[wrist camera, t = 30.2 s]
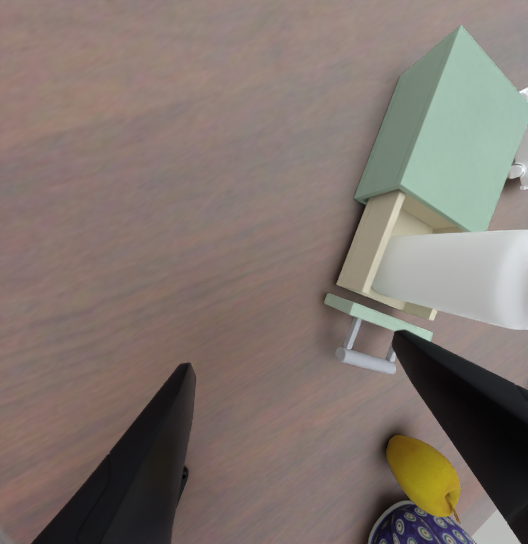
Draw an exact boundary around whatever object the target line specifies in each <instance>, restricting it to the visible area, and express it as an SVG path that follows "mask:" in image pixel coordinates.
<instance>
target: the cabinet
mask: <svg viewBox="0 0 528 544" xmlns="http://www.w3.org/2000/svg"><path fill="white" fill-rule="evenodd" d="M527 123H528V102H527V101H526V100H525V98H524V97H523V96H522V95H521V94H520V93H519V91H518V90H517V89H516V88H515V87H514V86H513V85H512V83H511V82H510V81H509V80H508V79H507V78H506V76H505V75H504V74H503V73H502V72H501V71H500V69H499V68H498V67H497V66H496V65H495V64H494V62H493V61H492V60H491V59H490V58H489V57H488V56H487V54H486V53H485V52H484V51H483V50H482V49H481V47H480V46H479V45H478V44H477V43H476V42H475V40H474V39H473V38H472V37H471V36H470V35H469V33H468V32H467V31H466V30H465V29H464V28H463V26H462V25H460V26H459V27H458V28H456V29H455V30H454V31H453V32H452V33H451V34H449V35H448V36H447V37H446V38H445V39H443V40H442V41H441V42H440V43H439V44H438V45H436V46H435V47H434V48H433V49H432V50H431V51H429V52H428V53H427V54H426V55H425V56H423V57H422V58H421V59H420V60H419V61H418V62H416V63H415V64H414V65H413V66H412V67H410V68H409V69H408V70H407V71H406V72H405V73H403V74H402V75H401V76H400V78H399V80H398V83H397V85H396V88H395V91H394V93H393V96H392V99H391V101H390V104H389V107H388V109H387V112H386V114H385V117H384V120H383V122H382V125H381V128H380V130H379V133H378V136H377V138H376V141H375V143H374V146H373V149H372V151H371V154H370V157H369V159H368V162H367V165H366V167H365V170H364V172H363V175H362V178H361V180H360V183H359V186H358V188H357V191H356V194H355V196H354V199H355V200H357V201H359V202H360V203H362V204H364V205H367V202H368V200H369V197H372V196H376V195H379V194H383V193H386V192H389V191H393V190H396V189H400V190H402V191H403V192H405V193H406V194H408V195H409V196H411V197H412V198H414V199H415V200H417V201H418V202H420V203H421V204H423V205H424V206H426V207H427V208H429V209H430V210H432V211H433V212H435V213H436V214H438V215H439V216H441V217H442V218H444V219H446V220H447V221H449V222H450V223H452V224H453V225H455V226H456V227H458V228H459V229H461V230H462V231H464V232H483V231H486V230H487V228H488V225H489V223H490V220H491V217H492V215H493V212H494V209H495V207H496V204H497V202H498V199H499V196H500V194H501V191H502V189H503V186H504V183H505V181H506V178H507V176H508V173H509V170H510V168H511V165H512V162H513V160H514V157H515V155H516V152H517V149H518V147H519V144H520V142H521V139H522V136H523V134H524V131H525V129H526V126H527Z"/></svg>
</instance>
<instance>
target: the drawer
mask: <svg viewBox="0 0 528 544" xmlns="http://www.w3.org/2000/svg"><path fill="white" fill-rule="evenodd" d="M463 232H464V231H462V230H461V229H459V228H458V227H456V226H455V225H453V224H452V223H450V222H449V221H447V220H446V219H444V218H442V217H441V216H439V215H438V214H436V213H435V212H433V211H432V210H430V209H429V208H427V207H426V206H424V205H423V204H421V203H420V202H418V201H417V200H415V199H414V198H412V197H411V196H409V195H408V194H406V193H405V192H403V191H402V190H400V189H396V190H393V191H389V192H386V193H383V194H379V195H376V196H372V197H369V200H368V202H367V205H366V208H365V210H364V213H363V215H362V218H361V221H360V223H359V226H358V229H357V231H356V234H355V236H354V239H353V242H352V244H351V247H350V250H349V252H348V255H347V258H346V260H345V263H344V265H343V268H342V271H341V273H340V276H339V279H338V281H337V284H336V285H338V286H340V287H343V288H345V289H348V290H350V291H353V292H355V293H358V294H360V295H363V296H365V297H368V298H370V299H373V300H375V301H378V302H380V303H383V304H385V305H388V306H390V307H393V308H395V309H397V310H400V311H403V312H406V313H409V314H412V315H415V316H418V317H422V318H425V319H428V320H431V321H434V318H435V316H436V313H437V310H436V309H432V308H428V307H425V306H421V305H417V304H413V303H410V302H406V301H402V300H399V299H395V298H391V297H388V296H384V295H381V294H379V293H378V292H376V291H375V290H374V289H373V288H372V286H371V285H372V283H373V280H374V277H375V275H376V272H377V270H378V267H379V264H380V262H381V259H382V256H383V254H384V251H385V249H386V246H387V243H388V241H389V238H390V237H393V236H407V235H425V234H444V233H463ZM324 304H327V305H329V306H331V307H333V308H335V309H338V310H340V311H342V312H344V313H346V314H349V315H351V316H354V318H353V321H352V323H351V326H350V328H349V331H348V334H347V336H346V339H345V342H344V344H343V347H339V348H337V350H336V353H335V355H336V359H337V360H338V361H339V362H343V363H347V364H351V365H355V366H358V367H362V368H366V369H370V370H374V371H377V372H381V373H385V374H389V375H393V374H394V373H395V372H396V365H395V364H394V363H393V362H394V360H395V358H396V354H395V352H394V350H393V348H392V343H391V346H390V349H389V351H388V354H387V357H386V360H385V359H382V358H379V357H375V356H372V355H368V354H365V353H361V352H358V351H354V350H351V348H352V346H353V343H354V340H355V338H356V335H357V332H358V330H359V327H360V325H361V322H362V320H365V321H368V322H371V323H374V324H376V325H379V326H382V327H385V328H388V329H390V330H393V331H396V330H402V329H405V330H408V331H410V332H412V333H414V334H416V335H418V336H420V337H422V338H424V339H426V340H428V341H431V338H432V335H433V332H430V331H428V330H425V329H423V328H420V327H417V326H415V325H412V324H410V323H407V322H404V321H402V320H399V319H397V318H394V317H391V316H389V315H386V314H384V313H381V312H378V311H376V310H373V309H371V308H368V307H365V306H363V305H360V304H357V303H355V302H352V301H349V300H347V299H344V298H341V297H338V296H335V295H333V294H330V293H327V296H326V298H325V301H324Z"/></svg>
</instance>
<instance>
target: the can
mask: <svg viewBox="0 0 528 544" xmlns="http://www.w3.org/2000/svg"><path fill="white" fill-rule="evenodd" d="M371 286H372V288H373V289H374V290H375V291H376V292H378V293H379V294H381V295H384V296H388V297H391V298H395V299H399V300H402V301H406V302H410V303H413V304H417V305H421V306H425V307H428V308H432V309H436V310H440V311H443V312H447V313H451V314H455V315H458V316H462V317H466V318H470V319H473V320H477V321H481V322H485V323H489V324H493V325H496V326H501V327H505V328H509V329H514V330H528V230H503V231H483V232H463V233H444V234H425V235H407V236H393V237H390V238H389V241H388V243H387V246H386V249H385V251H384V254H383V256H382V259H381V262H380V264H379V267H378V270H377V272H376V275H375V277H374V280H373V283H372V285H371Z"/></svg>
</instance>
